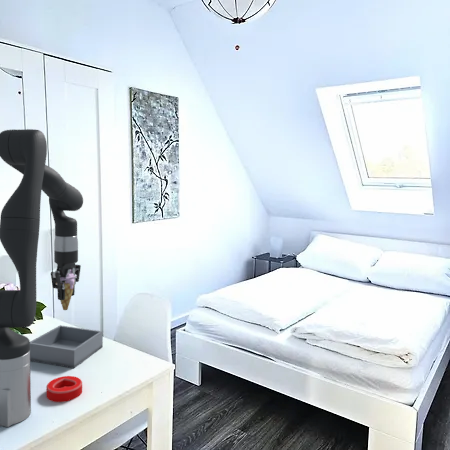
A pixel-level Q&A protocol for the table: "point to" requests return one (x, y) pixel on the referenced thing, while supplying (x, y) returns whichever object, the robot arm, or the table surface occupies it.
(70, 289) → the ice cream cone
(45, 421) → the table surface
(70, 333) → the bin
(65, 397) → the decorative ornament
